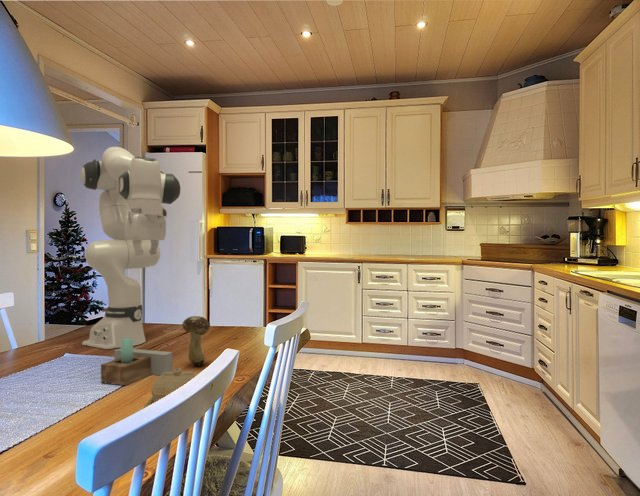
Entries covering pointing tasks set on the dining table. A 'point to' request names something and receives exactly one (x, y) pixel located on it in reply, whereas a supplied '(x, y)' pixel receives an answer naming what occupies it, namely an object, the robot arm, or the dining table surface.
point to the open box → (126, 370)
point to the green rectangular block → (126, 350)
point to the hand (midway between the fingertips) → (146, 255)
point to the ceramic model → (169, 384)
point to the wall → (153, 359)
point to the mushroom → (196, 337)
